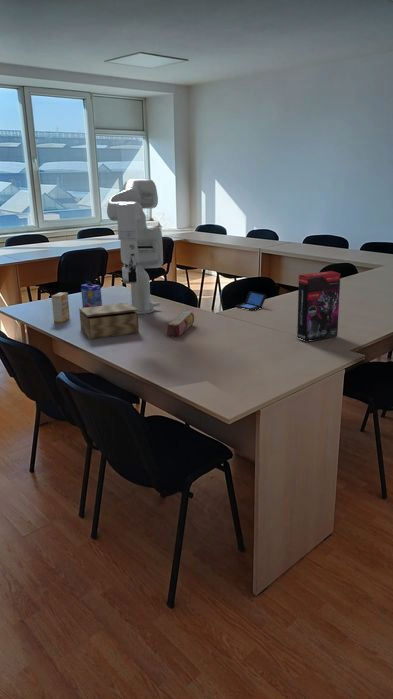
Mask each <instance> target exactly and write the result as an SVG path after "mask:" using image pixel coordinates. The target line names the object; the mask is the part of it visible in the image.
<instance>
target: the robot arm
mask: <svg viewBox="0 0 393 699" xmlns="http://www.w3.org/2000/svg"><path fill="white" fill-rule="evenodd" d="M158 202H159V195H158V190H157V185H156V183H155V182H154V180H152V179H150V178H131V179H128V180H126V181H125V182H124V184H123V187H122V191H120V192H118V193H115V194H114V195H112V196H111V197H110V198H109V200H108V202H107V206H106V214H107V218H108V219H109V220H110V221H112V222H117V238H118V240H119V241H120V242H119V243H120V259H121V260H120V261H121V262H122V267H126V266H128V269H129V272H128V279H129V282H136V281H137V278H138V282H137V283H131V284H130V295H131V296H130V297H131V306H133V307H135V308H136V309H138V311H135V312H137V313H138V315H145V314H150V313H153V312H154V311H155V307H157V308H158V307H160V305H161V303H160V302H152V301H151V286H150V284H151V283H150V276H149V274H148V272H147V271H146V270H145V269H158V268H161V267H163V264H164V251H163V250H164V249H163V248H164V247H163V246H164V245H163V234H162V233H163V232H162V230H161V228H160V226H157V225H147V217H146V214H145V212H144V209H147V210H148V209H155V208H157V207H158V204H159V203H158ZM138 247H152V248H138ZM130 266H131V268H130ZM136 267H137V278H136Z"/></svg>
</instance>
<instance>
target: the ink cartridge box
mask: <svg viewBox="0 0 393 699" xmlns="http://www.w3.org/2000/svg"><path fill="white" fill-rule="evenodd" d="M80 293H81V294H80V295H81V300H82V308H87V307H96V306H103V300H102V289H101V285H100V284H99V285H98V284H93V283H92V282H91V281H90V280H89V281H87V280H85V283H84V284H81V285H80Z"/></svg>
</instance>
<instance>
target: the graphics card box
mask: <svg viewBox="0 0 393 699" xmlns="http://www.w3.org/2000/svg"><path fill="white" fill-rule="evenodd" d="M340 287H341V273H340V272H336V271H333V270H329V271H322V272H321V271H320V272H313V273H303V274H299V275H298V290H297V291H298V294H297V296H298V297H297V299H298V300H297V303H298V304H297V328H296V329H297V330H296V333H297V335H296V338H297V337H298V338H301V339H303V340H305V341H309V340H315V341H319V340H323V339H330V338H334V337H337V336H338V334H339V333H338V330H339V314H340V311H339V309H340V308H339V307H340V289H341V288H340Z"/></svg>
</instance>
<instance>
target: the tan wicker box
mask: <svg viewBox="0 0 393 699" xmlns="http://www.w3.org/2000/svg"><path fill="white" fill-rule="evenodd" d="M78 313H79V319H80V320H79V323H80V329H81V331H82V332H83V333H84V335H85V336H86V337H87V338H88V340H97V339H102V338H109V337H118V336H119V337H120V336H126V335H131V334H133V335H134V334H140V329H139V327H140V326H139V314H138V313H137V312H135V311H134V312H125V313H116V314H108V315H99V316H90V317H87V316H86V315H85V314H83V313H82V312H81V311H80V310H79V312H78Z"/></svg>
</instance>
